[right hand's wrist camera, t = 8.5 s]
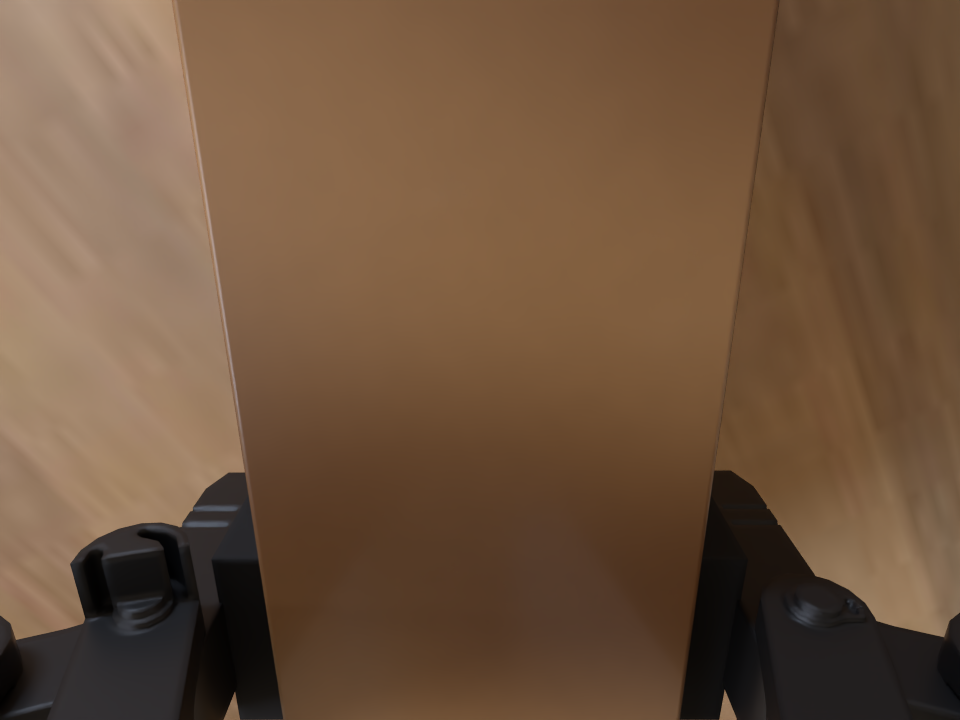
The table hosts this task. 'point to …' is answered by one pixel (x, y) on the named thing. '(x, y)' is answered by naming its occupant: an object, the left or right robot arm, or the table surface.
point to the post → (478, 334)
